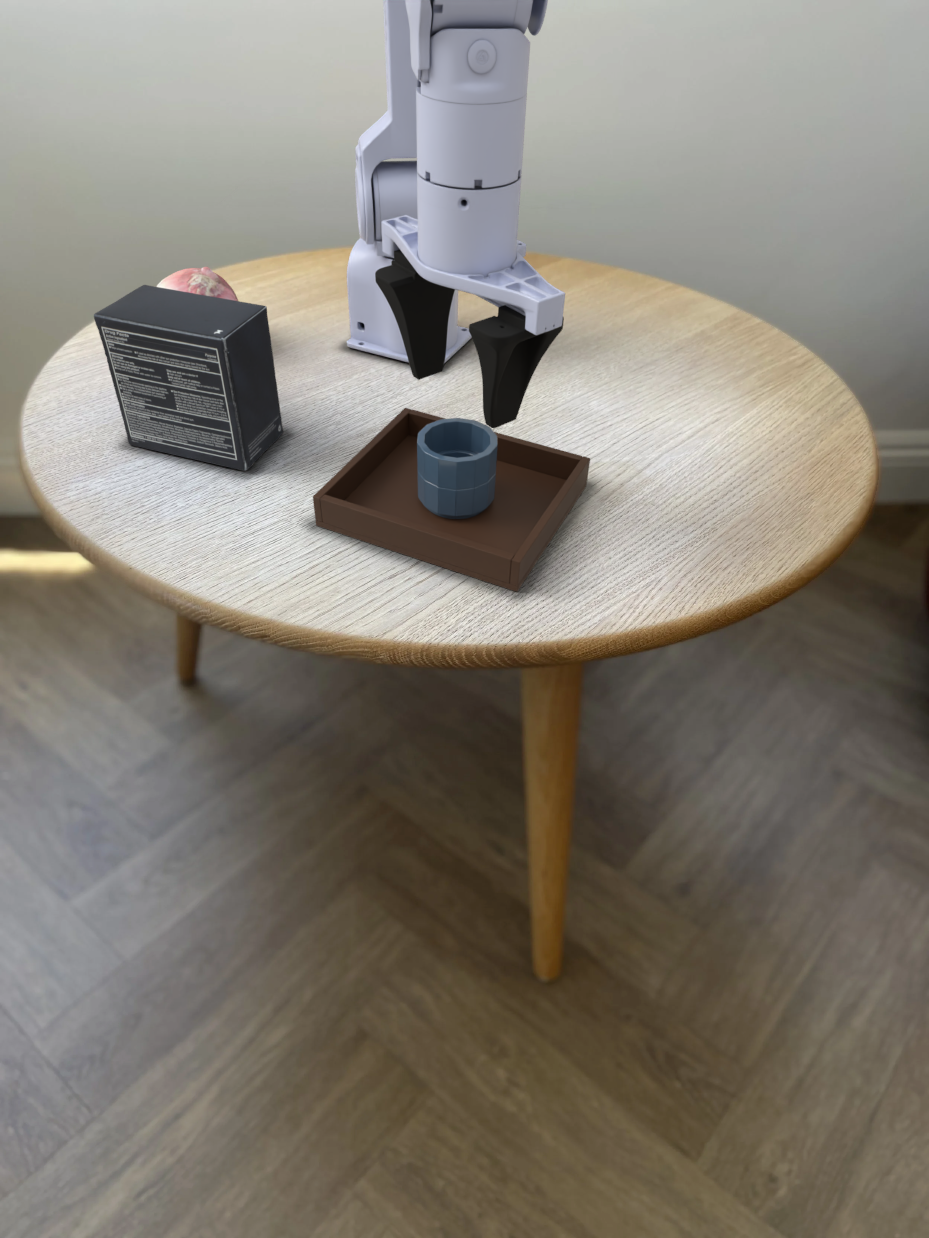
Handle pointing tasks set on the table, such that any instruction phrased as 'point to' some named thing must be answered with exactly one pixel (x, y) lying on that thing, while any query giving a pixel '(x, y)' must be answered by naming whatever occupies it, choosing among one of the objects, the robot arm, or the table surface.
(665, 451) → the table surface
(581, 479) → the tray
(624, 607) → the table surface
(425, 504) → the cup
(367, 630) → the table surface
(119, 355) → the small box
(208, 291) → the onion
